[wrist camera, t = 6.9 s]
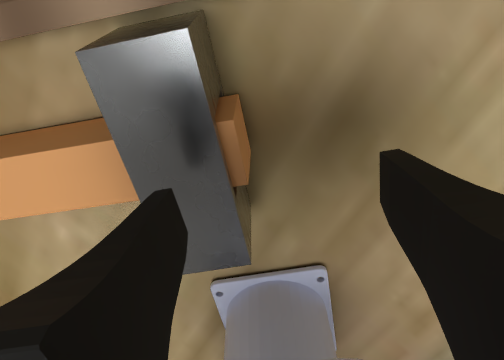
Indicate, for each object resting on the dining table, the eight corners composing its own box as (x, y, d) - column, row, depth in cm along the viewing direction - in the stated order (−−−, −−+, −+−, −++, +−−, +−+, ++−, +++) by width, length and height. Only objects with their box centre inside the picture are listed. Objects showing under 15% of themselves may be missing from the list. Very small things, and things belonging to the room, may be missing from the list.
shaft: (238, 93, 18) (233, 119, 15) (251, 152, 19) (248, 184, 17) (-51, 144, 20) (-102, 175, 17) (-17, 193, 21) (-59, 228, 19)
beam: (250, 205, 22) (251, 264, 18) (186, 216, 22) (172, 276, 18) (203, 9, 16) (187, 28, 12) (118, 28, 17) (75, 52, 12)
